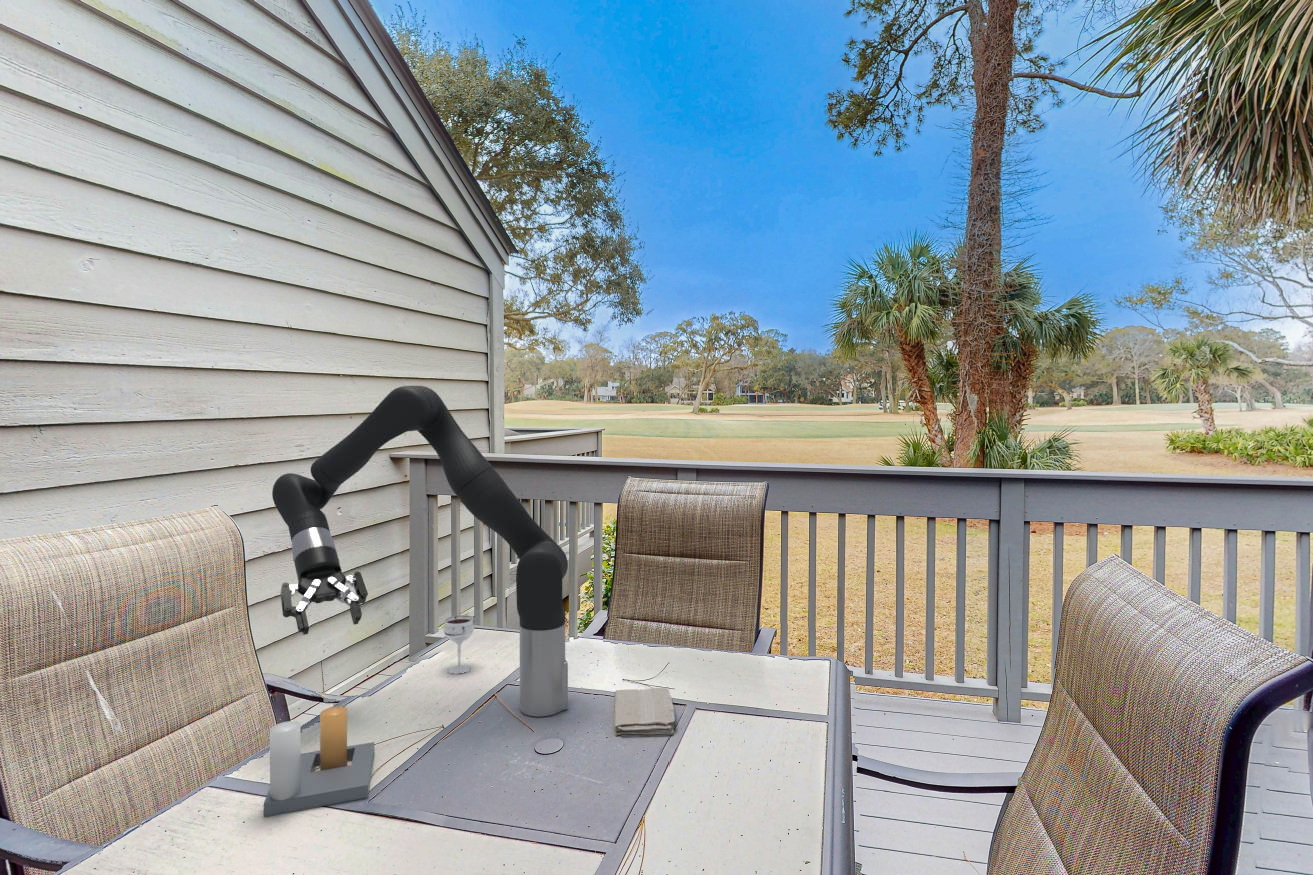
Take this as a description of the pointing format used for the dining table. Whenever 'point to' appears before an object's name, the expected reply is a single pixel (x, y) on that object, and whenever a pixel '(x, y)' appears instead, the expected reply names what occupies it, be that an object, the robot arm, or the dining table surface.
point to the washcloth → (643, 712)
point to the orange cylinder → (333, 738)
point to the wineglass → (459, 635)
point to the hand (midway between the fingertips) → (332, 626)
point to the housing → (312, 774)
